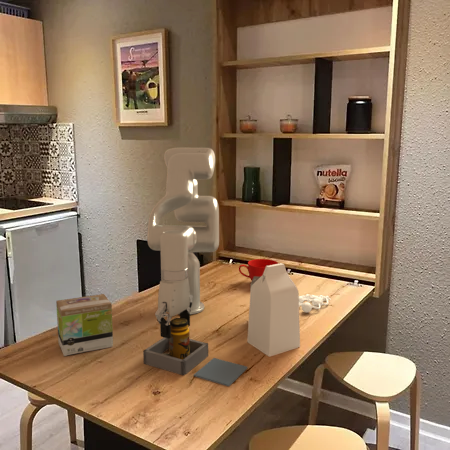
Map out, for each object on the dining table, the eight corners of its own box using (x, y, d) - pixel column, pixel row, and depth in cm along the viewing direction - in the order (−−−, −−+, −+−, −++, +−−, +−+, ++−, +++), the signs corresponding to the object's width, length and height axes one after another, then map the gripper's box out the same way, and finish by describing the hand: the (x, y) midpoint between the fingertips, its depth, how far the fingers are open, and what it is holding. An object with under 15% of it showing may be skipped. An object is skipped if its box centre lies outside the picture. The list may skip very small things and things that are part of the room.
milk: (269, 356, 144) (271, 273, 138) (247, 342, 153) (248, 263, 148) (300, 347, 150) (302, 266, 144) (277, 333, 159) (279, 257, 154)
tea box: (63, 357, 143) (60, 310, 140) (58, 344, 152) (55, 299, 149) (114, 347, 150) (111, 302, 147) (106, 334, 158) (103, 292, 155)
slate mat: (193, 376, 132) (193, 374, 132) (213, 359, 142) (213, 357, 142) (229, 386, 127) (229, 384, 127) (247, 368, 137) (247, 366, 137)
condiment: (192, 363, 139) (192, 324, 137) (163, 366, 137) (162, 327, 135) (188, 351, 146) (188, 314, 144) (160, 354, 144) (159, 317, 142)
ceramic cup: (240, 279, 214) (240, 257, 212) (278, 281, 212) (279, 259, 210) (236, 289, 202) (237, 266, 199) (277, 291, 199) (278, 268, 197)
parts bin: (143, 363, 139) (143, 350, 139) (169, 345, 150) (169, 333, 150) (184, 375, 133) (183, 362, 132) (208, 355, 144) (208, 343, 143)
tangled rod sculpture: (309, 297, 197) (309, 287, 197) (339, 303, 187) (339, 293, 186) (278, 308, 184) (278, 297, 183) (310, 315, 173) (310, 304, 173)
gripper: (180, 265, 145) (181, 319, 148) (144, 280, 130) (146, 339, 133) (201, 268, 142) (202, 323, 145) (167, 284, 127) (168, 345, 130)
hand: (175, 331), depth 139 cm, fingers open, 9 cm apart
